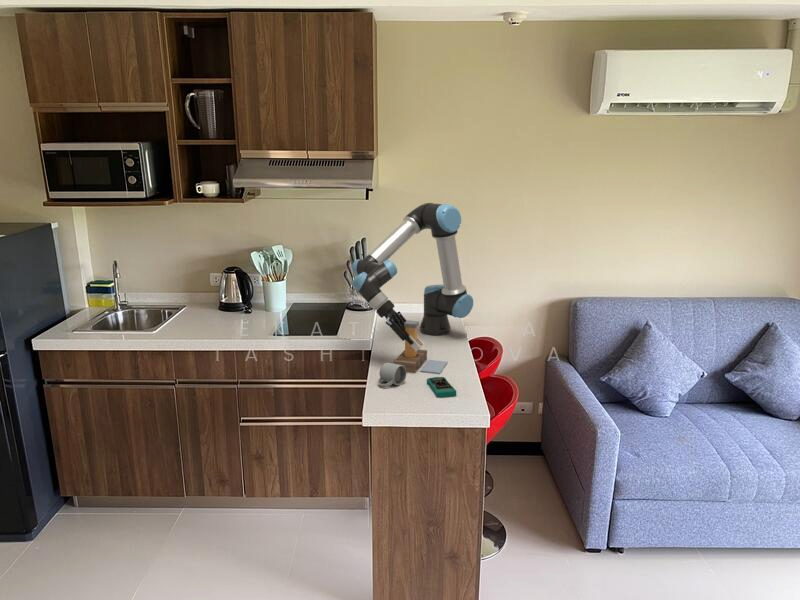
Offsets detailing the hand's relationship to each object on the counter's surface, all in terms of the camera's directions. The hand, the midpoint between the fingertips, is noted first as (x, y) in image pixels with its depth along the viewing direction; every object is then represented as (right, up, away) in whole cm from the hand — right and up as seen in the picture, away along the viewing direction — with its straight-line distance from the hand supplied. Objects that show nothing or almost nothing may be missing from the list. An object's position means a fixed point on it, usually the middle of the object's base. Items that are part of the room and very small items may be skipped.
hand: (419, 347), depth 245 cm
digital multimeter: (+7, -14, -23) cm, 28 cm away
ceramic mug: (-12, -13, -18) cm, 25 cm away
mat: (+6, -8, 0) cm, 10 cm away
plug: (-4, -6, +3) cm, 7 cm away
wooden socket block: (-4, -7, +3) cm, 9 cm away
